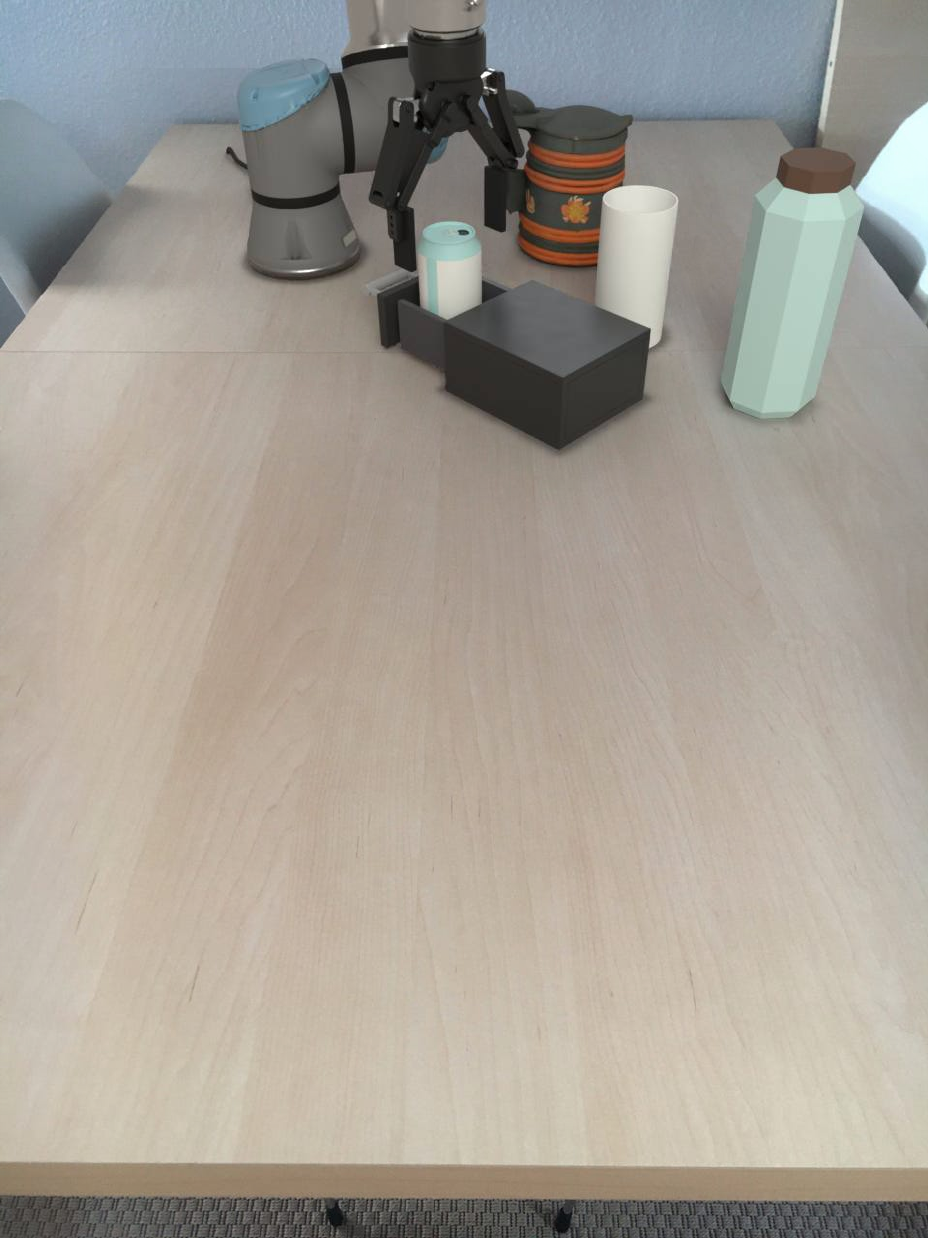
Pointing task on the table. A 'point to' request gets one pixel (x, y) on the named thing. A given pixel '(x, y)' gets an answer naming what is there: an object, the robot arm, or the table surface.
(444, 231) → the can
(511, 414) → the cabinet
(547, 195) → the beer stein
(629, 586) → the table surface
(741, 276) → the water bottle
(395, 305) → the drawer
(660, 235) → the cup
